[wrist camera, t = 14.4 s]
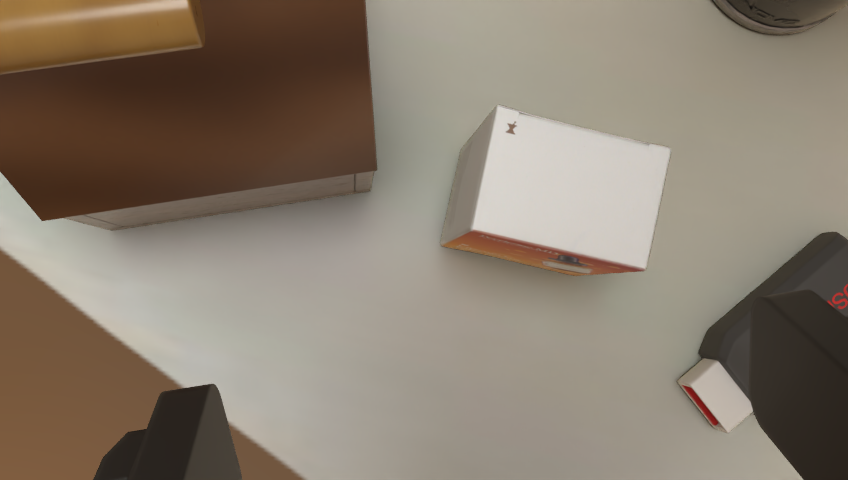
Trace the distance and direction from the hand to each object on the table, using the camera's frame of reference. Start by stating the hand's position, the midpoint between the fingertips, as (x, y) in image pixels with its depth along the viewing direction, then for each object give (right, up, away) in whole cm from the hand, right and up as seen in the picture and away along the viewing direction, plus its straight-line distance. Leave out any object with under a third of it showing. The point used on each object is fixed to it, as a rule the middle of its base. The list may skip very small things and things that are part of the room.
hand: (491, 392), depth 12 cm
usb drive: (+18, -3, +33) cm, 38 cm away
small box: (+4, +4, +32) cm, 33 cm away
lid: (-10, +9, +14) cm, 19 cm away
